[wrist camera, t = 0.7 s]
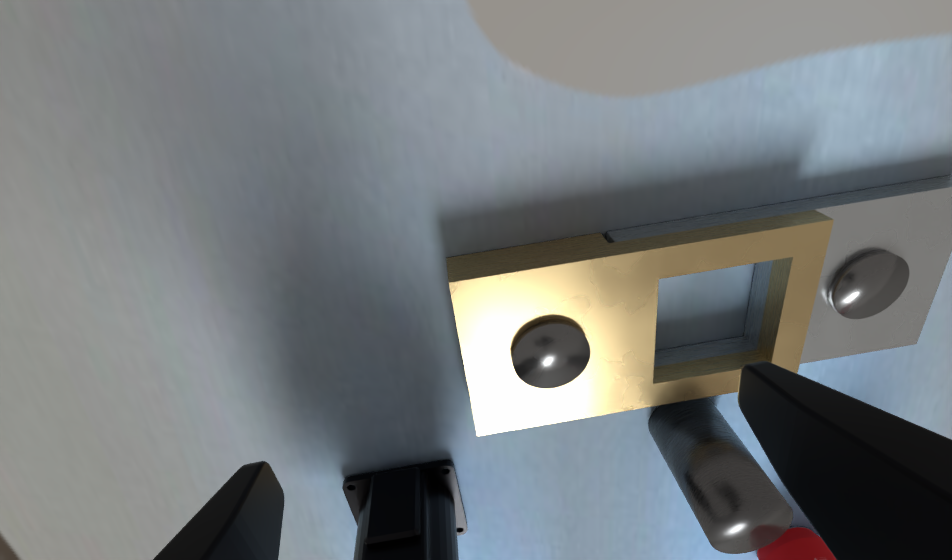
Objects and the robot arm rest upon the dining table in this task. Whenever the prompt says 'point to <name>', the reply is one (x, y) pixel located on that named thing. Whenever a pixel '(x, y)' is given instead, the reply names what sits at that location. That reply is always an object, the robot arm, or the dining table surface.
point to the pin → (719, 477)
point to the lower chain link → (846, 269)
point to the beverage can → (796, 546)
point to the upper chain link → (617, 318)
